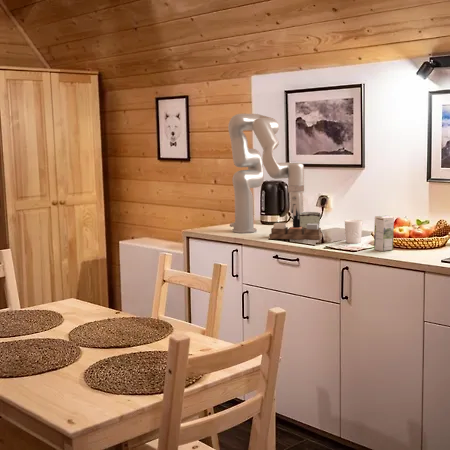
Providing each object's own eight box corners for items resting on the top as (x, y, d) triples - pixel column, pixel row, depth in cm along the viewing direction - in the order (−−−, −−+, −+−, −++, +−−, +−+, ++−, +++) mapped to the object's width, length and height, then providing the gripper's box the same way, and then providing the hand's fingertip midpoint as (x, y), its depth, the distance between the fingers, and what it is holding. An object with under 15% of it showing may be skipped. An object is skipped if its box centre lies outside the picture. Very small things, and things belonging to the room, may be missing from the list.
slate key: (306, 231, 327) (306, 224, 326) (308, 229, 331) (308, 223, 331) (317, 231, 325) (317, 224, 325) (318, 229, 330) (318, 223, 330)
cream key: (273, 230, 331) (273, 224, 331) (275, 228, 336) (275, 222, 335) (283, 230, 330) (283, 224, 329) (285, 229, 334) (285, 223, 334)
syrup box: (384, 248, 296) (384, 215, 294) (393, 250, 290) (394, 216, 289) (373, 249, 293) (374, 215, 291) (383, 251, 288) (383, 217, 286)
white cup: (344, 241, 318) (344, 219, 317) (362, 241, 317) (362, 219, 316) (344, 243, 310) (344, 221, 309) (362, 243, 309) (362, 221, 308)
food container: (320, 231, 352) (320, 211, 351) (321, 232, 346) (321, 213, 345) (296, 231, 353) (296, 211, 352) (296, 233, 347) (296, 213, 346)
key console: (269, 238, 330) (269, 229, 329) (273, 235, 339) (273, 226, 339) (319, 239, 323) (319, 230, 322) (322, 236, 333) (322, 227, 332)
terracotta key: (289, 234, 329) (289, 227, 329) (291, 232, 334) (291, 226, 334) (300, 234, 328) (300, 228, 327) (302, 232, 333) (302, 226, 332)
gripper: (301, 190, 320) (301, 229, 322) (306, 188, 334) (306, 225, 336) (285, 190, 322) (285, 229, 324) (291, 188, 336) (291, 225, 338)
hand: (296, 227), depth 330 cm, fingers closed
